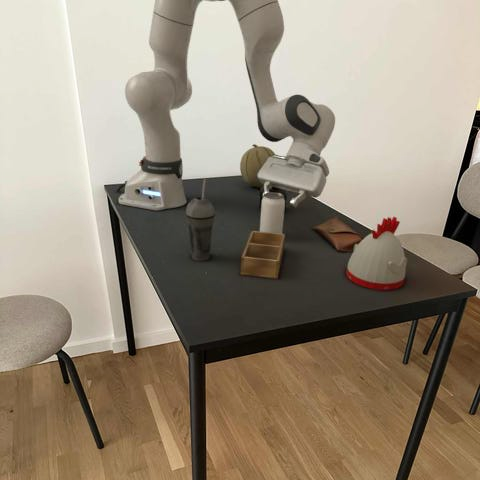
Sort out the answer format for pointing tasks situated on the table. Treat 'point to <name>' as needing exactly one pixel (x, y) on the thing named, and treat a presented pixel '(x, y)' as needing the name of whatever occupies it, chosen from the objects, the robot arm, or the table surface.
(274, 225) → the can
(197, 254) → the beverage cup
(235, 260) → the table surface
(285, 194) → the ink bottle
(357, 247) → the kitchen timer
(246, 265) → the organizer
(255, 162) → the cantaloupe
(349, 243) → the sunglasses case
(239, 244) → the table surface
